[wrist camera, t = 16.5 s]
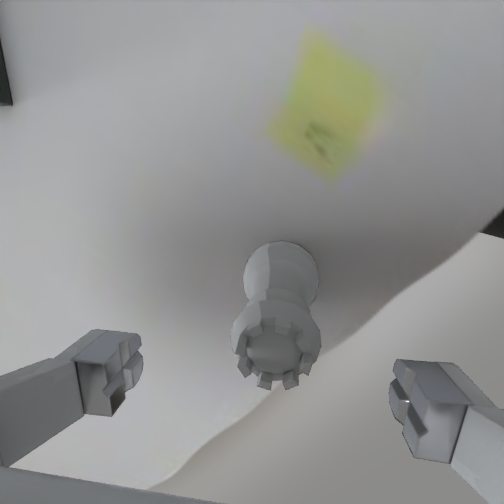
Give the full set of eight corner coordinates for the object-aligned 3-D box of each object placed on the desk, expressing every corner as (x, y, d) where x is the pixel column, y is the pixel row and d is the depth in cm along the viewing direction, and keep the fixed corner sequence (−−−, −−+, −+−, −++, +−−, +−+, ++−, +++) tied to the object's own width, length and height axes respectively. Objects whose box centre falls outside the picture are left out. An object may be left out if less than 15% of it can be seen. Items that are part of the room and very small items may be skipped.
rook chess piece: (235, 252, 16) (185, 316, 8) (304, 228, 15) (320, 277, 7) (259, 314, 17) (235, 423, 9) (327, 296, 16) (361, 401, 8)
